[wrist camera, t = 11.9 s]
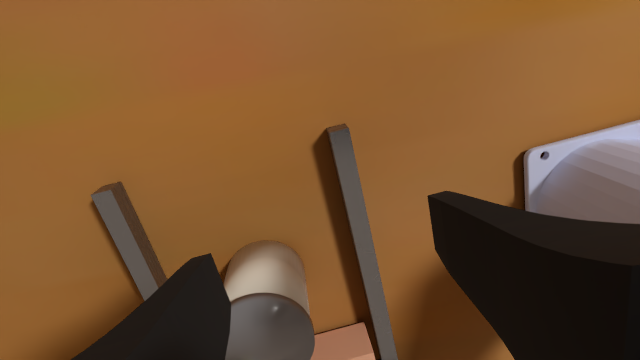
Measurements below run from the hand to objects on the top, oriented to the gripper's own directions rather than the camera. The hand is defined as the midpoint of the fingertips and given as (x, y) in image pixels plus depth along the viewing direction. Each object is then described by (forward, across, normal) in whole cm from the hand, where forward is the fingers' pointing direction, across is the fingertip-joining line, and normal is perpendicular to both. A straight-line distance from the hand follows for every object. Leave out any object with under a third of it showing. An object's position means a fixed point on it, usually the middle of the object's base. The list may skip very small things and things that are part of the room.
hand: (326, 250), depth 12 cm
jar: (+8, +4, +6) cm, 11 cm away
